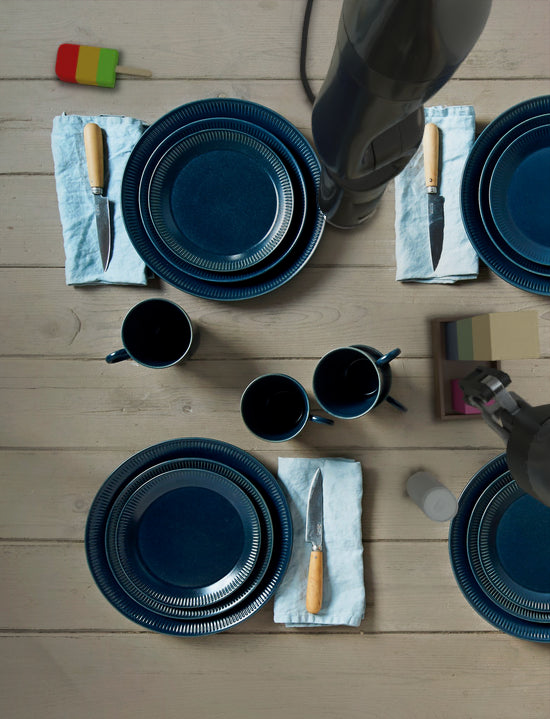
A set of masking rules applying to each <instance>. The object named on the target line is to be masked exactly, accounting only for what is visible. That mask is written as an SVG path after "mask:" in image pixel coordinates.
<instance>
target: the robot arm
mask: <svg viewBox="0 0 550 719" xmlns="http://www.w3.org/2000/svg"><path fill="white" fill-rule="evenodd" d="M493 1H494V0H343V2H342V6H341V10H340V15H339V19H338V24H337V31H336V40H335V45H334V48H333V52H332V56H331V60H330V62H329V67H328V70H327V73H326V75H325V77H324V80H323V82H322V85H321V86H320V88H319V91H318V93H317V95H316V96H315V94H314V93H313V91H312V89H311V86H310V84H309V81H308V80H309V79H308V77H307V69H306V68H307V66H306V62H307V50H308V48H307V47H308V35H309V27H310V20H311V14H312V10H313V9H312V8H313V5H314V4H313V3H314V0H307V1H306V2H307V3H306V7H305V12H304V16H303V17H304V18H303V24H302V31H301V44H300V57H299V75H300V80H301V84H302V87H303V89H304V92H305V94H306V97H307V98H308V100H309V101H310V103H311V104H312V109H311V116H310V126H311V134H312V140H313V144H314V147H315V150H316V152H317V154H318V157H319V159H320V160H321V165H320V166H321V167H320V173H319V174H320V175H319V183H318V188H317V192H318V204H319V207H320V210H321V211H322V213H323V214H324V215H325V216H326V221H325V222H326V223H327V224H329V225H330V226H332V227H333V228H336V229H339V230H345V231H346V230H354V229H357V228H360V227H362V226H364V225H365V224H366V223H367V222H369V221H370V219H372V217H373V216H374V214H376V213H377V212H378V210H379V209H378V208H377V207H378V205H379V203H380V201H381V199H382V197H383V196H384V194H385V191H386V190H387V188H388V186H389V183H390V182H391V181H393V180H394V179H395V178H396V177H398V176H399V175H400V174H401V173H403V172H404V170H405V169H406V168H407V166H408V165H409V164H410V162H411V161H412V159H413V158H414V156H415V155H416V153H417V152H418V150H419V148H420V147H421V145H422V142H423V139H424V135H425V129H426V113H425V112H426V111H425V104H426V103H427V102H429V101H430V100H431V99H433V97H435V96H436V95H437V94H438V92H440V91H441V89H443V88H444V87H445V86H446V84H447V83H449V82H450V80H451V79H452V78H453V76H455V74H456V73H457V71H458V70H459V68H460V67H461V66H462V65H463V63H464V62H465V60H466V59H467V57H468V56H469V55H470V53H472V51H473V49H474V47H475V46H476V45H477V43H478V41H479V39H480V37H481V36H482V34H483V32H484V30H485V28H486V26H487V23H488V21H489V17H490V14H491V11H492V7H493ZM316 206H317V208H318V205H317V204H316ZM510 384H512V378H511V376H510V375H509V374H508V373H507V372H505V371H503V370H502V369H501V370H497V369H493V368H489V367H485V366H481V365H479V366H478V367H477V368H475V370H474V371H472V372H471V373H470V374H469V375H467V376H466V377H465V378H464V379H461V380H460V381H459V382H458V385H459V388H460V389H461V390H462V391H463V392H462V393H463V394H464V396H463V397H462V400H463V401H464V402H465V403H466V404H467V405H469V406H472V407H475V408H477V409H478V410H479V411H481V412H482V414H481V415H482V417H483V418H482V419H483V421H484V423H485V424H486V426H488V428H490V429H491V430H492V431H493V432H494V433H495V434H496V435H498V436H499V438H501V440H502V443H503V444H504V445H505V458H506V464H507V468H508V471H509V473H510V475H511V477H512V479H513V481H514V482H515V483H516V484H517V485H518V487H519V488H520V489H521V490H522V491H524V492H525V493H526V494H527V495H529V496H531V497H532V498H533V499H535V500H537V501H538V502H540V503H541V504H543V505H544V506H546V507H547V508H549V509H550V403H545V404H541V405H536V406H532V404H530V403H529V402H528V401H527V400H525V399H524V398H523V397H522V396H520V395H519V394H517V393H516V392H515V391H513V390H509V391H508V390H507V388H508V387H509V386H510ZM491 399H493V400H494V401H496V402H495V403H493V404H492V405H491V406H486V405H485V404H484V403H488V402H489V401H490V400H491ZM498 420H500V421H501V424H500V423H498Z"/></svg>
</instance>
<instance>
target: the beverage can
mask: <svg viewBox="0 0 550 719" xmlns="http://www.w3.org/2000/svg"><path fill="white" fill-rule="evenodd" d="M405 485H406V492H407V495H408V496H409V497H410V498H411V500H412V502H414V503H415V505H416V506H417V507H418V508H419V509H420V511H421V512H422V513H423V515H425V517H427V519H429V520H431V521H432V522H434V523H438V524H439V523H441V524H444V523H447V522H450V521H451V520H453V519H454V518H455V517H456V515H457V513H458V510H459V502H458V498H457V497H456V494H455V493H454V491H452V490H451V489H450V488H449V487H447V485H445V484H444V483H443V482H441V481H440V480H439V479H438V478H437V477H435V476H434V475H433V474H432V473H431V472H428V471H424V470H421V471H417V472H415V473H413V474H411V475H410V477H409V478H407V481H406V484H405Z"/></svg>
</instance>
